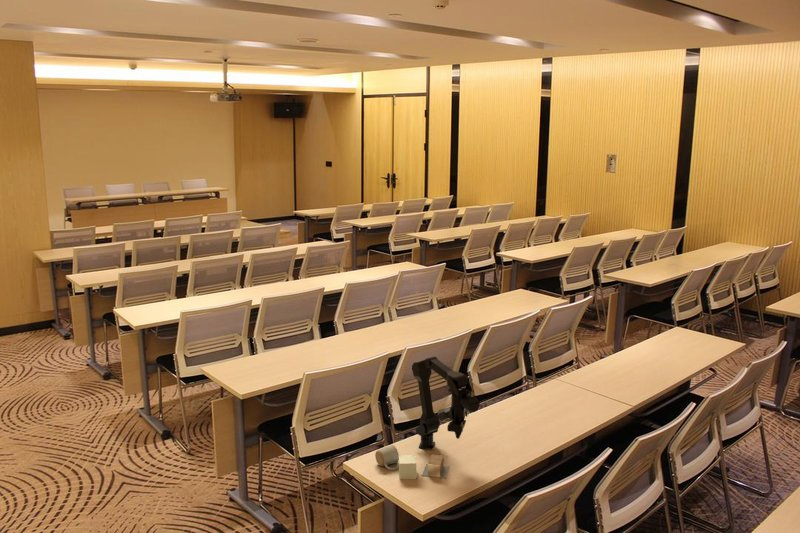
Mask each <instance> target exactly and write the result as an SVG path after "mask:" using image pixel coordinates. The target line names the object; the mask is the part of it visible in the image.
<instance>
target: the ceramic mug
mask: <svg viewBox="0 0 800 533" xmlns="http://www.w3.org/2000/svg"><path fill="white" fill-rule="evenodd" d="M399 454H400V453H399V451H398V448H397V447H396V446H395V445H394V444H389V445H387V446H384V447H382V448H379V449H377V450H376V451H375V454H374V456H375V461H376V463H377V464H378V466H380V467H385V468H386V469H387V470H389V471H396V470H397V469H399ZM394 464H396V466H395V467H390V466H389V465H394Z"/></svg>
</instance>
